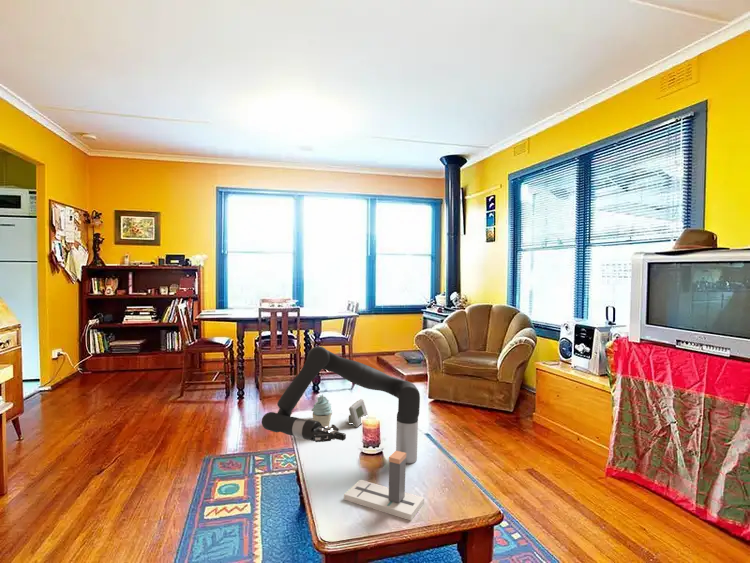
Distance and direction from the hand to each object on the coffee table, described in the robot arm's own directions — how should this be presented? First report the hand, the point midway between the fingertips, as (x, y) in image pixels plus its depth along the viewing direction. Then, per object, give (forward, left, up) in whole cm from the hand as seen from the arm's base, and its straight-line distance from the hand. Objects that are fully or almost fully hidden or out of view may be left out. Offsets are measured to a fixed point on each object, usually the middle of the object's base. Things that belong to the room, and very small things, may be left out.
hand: (344, 437), depth 160 cm
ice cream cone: (-40, -37, -20) cm, 58 cm away
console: (0, +17, -20) cm, 26 cm away
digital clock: (-62, -28, -20) cm, 71 cm away
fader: (0, +22, -17) cm, 28 cm away
